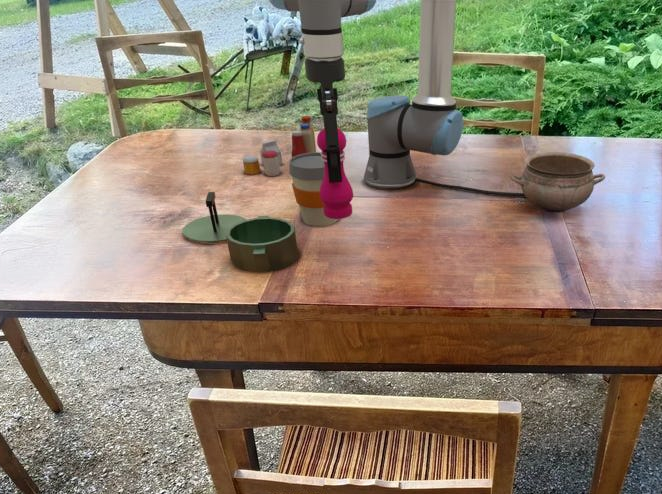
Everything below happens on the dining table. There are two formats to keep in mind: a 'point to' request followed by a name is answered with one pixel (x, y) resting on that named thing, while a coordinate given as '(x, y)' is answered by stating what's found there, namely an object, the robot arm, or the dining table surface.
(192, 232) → the lid
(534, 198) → the cooking pot
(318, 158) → the reusable coffee cup
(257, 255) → the pot
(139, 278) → the dining table surface
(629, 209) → the dining table surface
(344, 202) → the pepper mill
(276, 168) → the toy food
